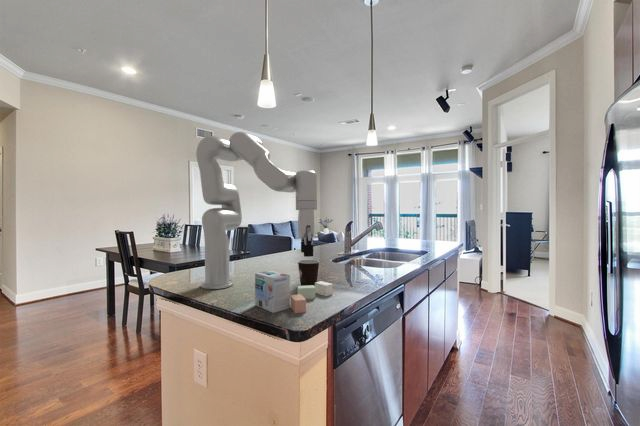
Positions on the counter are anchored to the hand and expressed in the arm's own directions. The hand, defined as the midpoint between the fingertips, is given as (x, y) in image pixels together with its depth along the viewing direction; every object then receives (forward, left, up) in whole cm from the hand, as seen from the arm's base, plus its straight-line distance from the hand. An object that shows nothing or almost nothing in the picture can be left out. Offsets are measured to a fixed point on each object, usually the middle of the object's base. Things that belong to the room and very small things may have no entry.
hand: (306, 254), depth 109 cm
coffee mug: (-17, +3, -16) cm, 23 cm away
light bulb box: (+8, -12, -16) cm, 21 cm away
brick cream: (-4, +7, -16) cm, 18 cm away
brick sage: (0, 0, -16) cm, 16 cm away
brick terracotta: (+12, -4, -16) cm, 20 cm away
